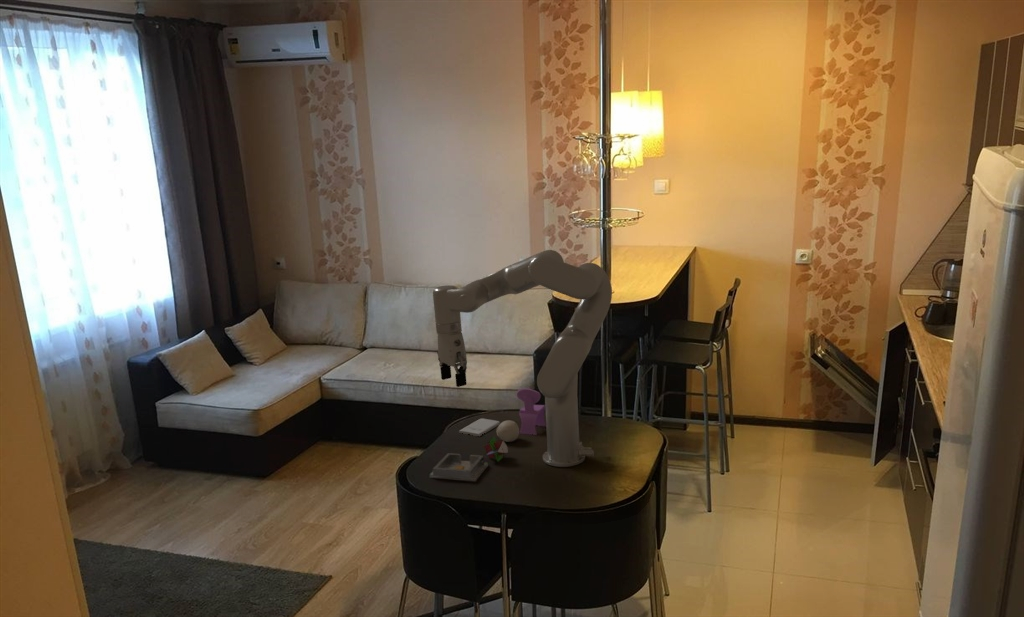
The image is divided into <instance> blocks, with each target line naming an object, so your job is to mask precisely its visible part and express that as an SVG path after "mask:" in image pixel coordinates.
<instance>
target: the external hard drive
mask: <svg viewBox="0 0 1024 617" xmlns="http://www.w3.org/2000/svg"><path fill="white" fill-rule="evenodd" d="M500 424H501V422H500V421H499V420H494V419H489V418H488V419H487V418H484V417H483V418H479V419H478V420H475V421H473V422H472V423H469V425H467V426H465V427H463V428H462V429H460V430H458V433H459V434H462V433H463V434H462V435H468V434H470V436H472V435H473V436H472V437H477V436H479V437H481V436H483V435H485V434H487V433H488V432H490V431H491V430H493V429H495V428H497V427H498V426H499V425H500ZM484 433H485V434H484ZM482 434H483V435H482Z"/></svg>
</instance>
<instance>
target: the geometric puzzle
mask: <svg viewBox="0 0 1024 617" xmlns="http://www.w3.org/2000/svg"><path fill="white" fill-rule="evenodd" d="M497 439H498V440H497ZM483 448H484V450H485V454H486V456H487V458H488V459H494V458H495V459H496V460H495V462H496V463H499V462H500V461H501V460H502V459H503V458H504V457H505V455H507V454H509V449H508V444H507V442H505V441H503V440H501V439H500V438H497V437H496V436H494V437H492V438H491V439H490V440H489V441H488V442H487V444H485V445H483Z"/></svg>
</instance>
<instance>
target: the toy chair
mask: <svg viewBox="0 0 1024 617" xmlns="http://www.w3.org/2000/svg"><path fill="white" fill-rule="evenodd" d="M541 396H542V395H541V392H540V391H537V390H535V389H533V388H526V387H524V388H519V389H518V390H517V391H516V397H517V398H518V399H519V400H520V401H521V402H523V407H522V408H520V409H519V417H520V422H521V425H520V428H519V434H524V435H532V434H533V435H534V436H537V435H538V433H537V430H536V429H537V428H536V425H538V427H546V420H545V413H546V412H545V404H536V403H538V402H539V401H540V400H541ZM533 435H532V436H533Z"/></svg>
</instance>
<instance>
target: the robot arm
mask: <svg viewBox="0 0 1024 617" xmlns="http://www.w3.org/2000/svg"><path fill="white" fill-rule="evenodd" d="M538 286H541V287H544V288H546V289H549V290H550V291H551V290H552V291H553V292H556V293H558V294H562V295H564V296H566V297H570V298H571V299H572V298H573V299H576V300H580V301H579V302H578V303H577V304H578V305H577V306H576V308H575V310H574V312H573V315H572V316H571V318H570V320H569V322H568V323H567V325H566V326H565V328H564V329H563V331H562V332H561V333H560V334H559V335H558V337H557V338H556V340H555V342H554V343H553V345H552V347H551V349H550V351H549V353H547V354H548V355H547V356H546V359H545V360H544V362H543V364H542V366H541V368H540V370H539V372H538V374H537V377H536V384H537V387H538V390H539V393H540V394H542V395H543V396H544V405H545V412H544V413H545V424H546V426H545V427H546V431H545V432H546V444H547V445H546V446H547V451H545V452H544V453H543V454H542V461H543V463H545V464H547V465H549V466H553V467H557V468H567V467H574V466H578V465H579V464H582V463H583V462H584V461H585V459H586V457H594V456H595V451H594V450H593V449H592V447H589V446H586V447H585V446H584V445H583V442H582V441H580V430H579V427H580V426H579V425H580V424H579V410H578V409H579V408H578V405H579V402H578V386H579V385H578V380H579V379H578V376H579V374H578V373H579V371H580V369H581V368H582V366H583V363H584V362H585V360H586V358H587V357H588V355H589V353H590V351H591V349H592V345H593V343H594V341H595V339H596V336H597V334H598V333H599V331H600V329H601V327H602V325H603V323H604V321H605V319H606V317H607V314H608V312H609V310H610V306H611V302H612V298H613V292H612V291H613V290H612V284H611V281H610V277H609V276H608V274H607V272H606V271H605V270H604V269H603V268H602V266H600V265H598V264H597V263H595V262H586V263H582V264H580V265H579V266H576V265H573V264H570V263H567V262H565V261H564V258H563V256H562V255H561V254H560V253H559V251H556V250H554V249H547V250H542V251H540V252H538V253H536V254H534V255H531V256H529V257H526V258H524V259H522V260H519V261H518V262H517V261H516V262H514V263H512V264H510V265H508V266H505V267H503V268H501V269H499V270H498V271H495V272H493V273H490V274H488V275H486V276H483V277H481V278H478V279H476V280H474V281H472V282H470V283H468V284H466V285H465V286H463V287H460V288H457V287H456V286H454V285H441V286H437V287H434V289H433V290H432V298H433V299H432V300H433V310H434V320H435V328H436V329H435V330H436V334H437V350H436V354H437V357H438V360H437V361H439V367H440V368H439V369H440V377H441V380H442V381H445V380H449V379H451V378H452V370H451V367H453V369H454V371H455V376H454V377H455V386H456V387H457V388H460V387H464V386H466V385H467V374H466V373H467V368H468V367H467V365H468V358H467V353H466V351H467V350H466V344H465V339H464V335H463V332H462V331H463V330H462V319H461V313H465V314H466V313H468V314H469V313H473V312H475V311H476V310H478V309H479V308H480V307H481V306H483V305H485V304H487V303H489V302H491V301H493V300H494V301H495V300H496V299H498V298H501V297H505V296H507V295H518V294H521V293H523V292H526V291H528V290H529V291H530V290H532V289H533V288H536V287H538ZM458 367H459V368H458Z"/></svg>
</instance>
